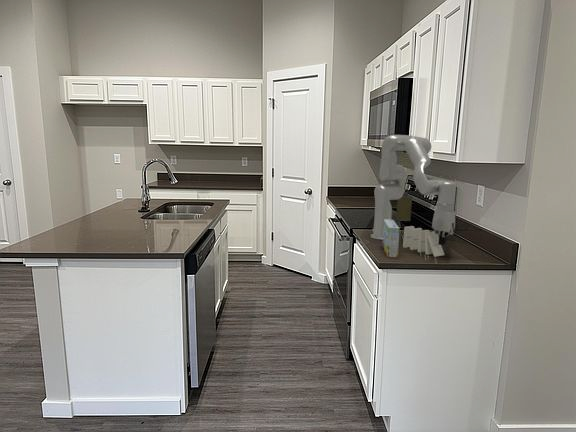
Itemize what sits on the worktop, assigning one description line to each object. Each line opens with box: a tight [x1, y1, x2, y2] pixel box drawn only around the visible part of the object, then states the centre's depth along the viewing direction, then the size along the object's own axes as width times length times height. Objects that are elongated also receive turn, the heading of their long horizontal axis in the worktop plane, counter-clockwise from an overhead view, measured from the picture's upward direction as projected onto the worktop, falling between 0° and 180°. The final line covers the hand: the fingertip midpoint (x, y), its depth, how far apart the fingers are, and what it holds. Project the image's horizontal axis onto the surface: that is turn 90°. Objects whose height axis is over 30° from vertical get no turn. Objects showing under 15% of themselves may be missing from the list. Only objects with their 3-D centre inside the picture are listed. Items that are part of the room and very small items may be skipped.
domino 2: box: [409, 227, 423, 251], centre depth 211 cm, size 1×6×11 cm, turn 120°
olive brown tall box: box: [395, 191, 413, 222], centre depth 292 cm, size 11×10×20 cm
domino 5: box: [427, 233, 445, 258], centre depth 200 cm, size 1×6×11 cm, turn 120°
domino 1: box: [402, 225, 415, 249], centre depth 215 cm, size 1×6×11 cm, turn 120°
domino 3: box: [417, 229, 431, 253], centre depth 207 cm, size 1×6×11 cm, turn 120°
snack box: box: [382, 218, 401, 258], centre depth 204 cm, size 21×6×15 cm, turn 174°
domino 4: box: [424, 231, 436, 255], centre depth 203 cm, size 1×6×11 cm, turn 120°
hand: (441, 244), depth 197 cm, fingers closed
